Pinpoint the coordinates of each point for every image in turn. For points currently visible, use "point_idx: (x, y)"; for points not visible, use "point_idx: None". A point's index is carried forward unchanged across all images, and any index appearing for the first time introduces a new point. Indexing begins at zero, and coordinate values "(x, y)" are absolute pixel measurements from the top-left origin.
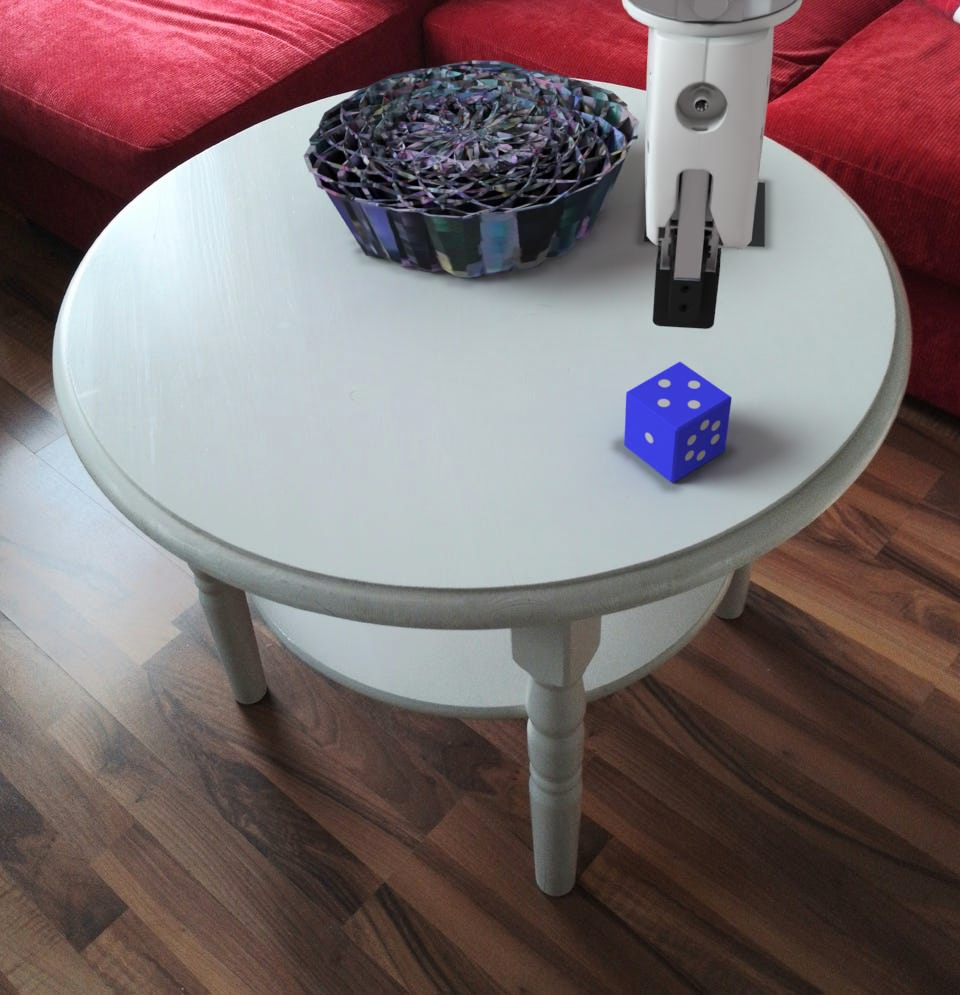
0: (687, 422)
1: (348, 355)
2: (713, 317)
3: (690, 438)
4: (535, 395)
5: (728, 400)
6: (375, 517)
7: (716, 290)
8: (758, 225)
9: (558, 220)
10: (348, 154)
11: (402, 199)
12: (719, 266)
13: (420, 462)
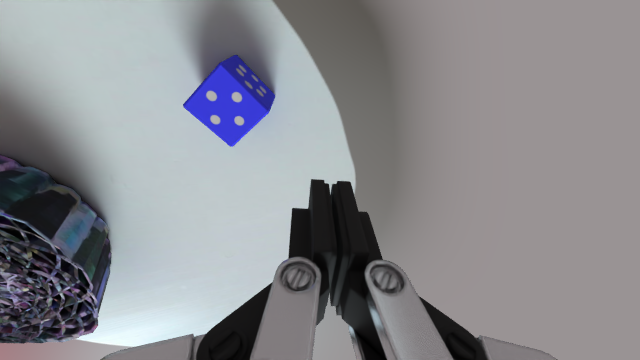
0: (259, 103)
1: (198, 262)
2: (352, 189)
3: (260, 94)
4: (206, 178)
5: (225, 66)
6: None
7: (358, 218)
8: None
9: (26, 198)
10: (44, 326)
11: (81, 299)
12: (368, 253)
13: (272, 225)
